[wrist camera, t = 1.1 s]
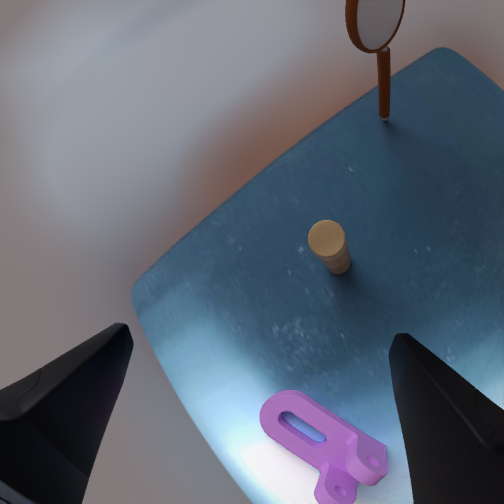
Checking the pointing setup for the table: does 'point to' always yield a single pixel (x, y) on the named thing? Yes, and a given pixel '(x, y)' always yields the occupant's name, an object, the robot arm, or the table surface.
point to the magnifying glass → (375, 37)
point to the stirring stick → (330, 246)
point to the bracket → (326, 446)
